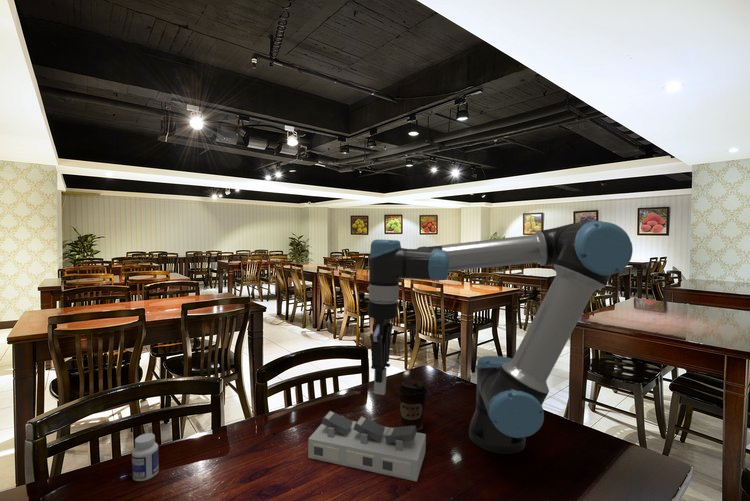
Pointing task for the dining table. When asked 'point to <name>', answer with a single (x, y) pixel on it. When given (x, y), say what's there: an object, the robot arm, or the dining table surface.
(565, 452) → the dining table surface
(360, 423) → the switch
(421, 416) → the coffee cup
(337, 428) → the switch
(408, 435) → the switch
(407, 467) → the console
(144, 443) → the pill bottle
